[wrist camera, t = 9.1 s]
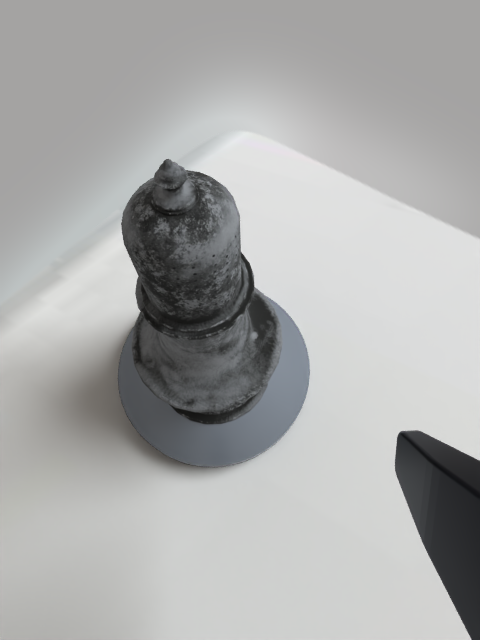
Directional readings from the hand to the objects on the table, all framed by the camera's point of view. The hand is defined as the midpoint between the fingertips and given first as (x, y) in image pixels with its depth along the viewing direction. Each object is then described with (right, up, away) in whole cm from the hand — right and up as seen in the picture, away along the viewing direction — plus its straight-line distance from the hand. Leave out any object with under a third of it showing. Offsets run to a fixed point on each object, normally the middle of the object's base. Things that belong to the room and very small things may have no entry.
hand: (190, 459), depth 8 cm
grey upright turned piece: (0, +1, +10) cm, 10 cm away
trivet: (0, +1, +11) cm, 11 cm away
